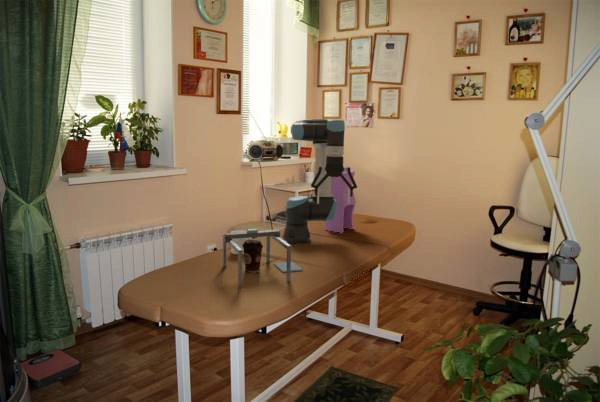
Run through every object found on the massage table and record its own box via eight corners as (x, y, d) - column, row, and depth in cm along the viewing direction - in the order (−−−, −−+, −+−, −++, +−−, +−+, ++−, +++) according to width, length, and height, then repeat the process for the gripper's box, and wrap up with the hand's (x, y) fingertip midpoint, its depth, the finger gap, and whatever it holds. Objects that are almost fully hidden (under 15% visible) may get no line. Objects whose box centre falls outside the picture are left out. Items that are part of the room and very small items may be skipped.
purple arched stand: (334, 226, 295) (336, 169, 288) (354, 229, 287) (356, 170, 280) (322, 230, 283) (323, 170, 277) (342, 233, 276) (344, 172, 269)
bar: (223, 241, 202) (223, 230, 202) (278, 237, 211) (278, 226, 210) (225, 243, 200) (225, 232, 199) (280, 238, 208) (280, 228, 208)
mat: (273, 264, 217) (273, 263, 216) (292, 262, 220) (292, 261, 220) (282, 272, 206) (282, 271, 205) (302, 270, 209) (302, 269, 209)
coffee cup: (246, 274, 202) (246, 244, 200) (239, 269, 209) (239, 240, 207) (265, 272, 206) (265, 242, 204) (257, 266, 213) (258, 238, 211)
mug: (257, 252, 235) (258, 232, 233) (248, 257, 227) (248, 235, 225) (237, 249, 240) (237, 229, 238) (227, 253, 233) (227, 232, 231)
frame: (222, 266, 213) (222, 233, 210) (269, 261, 220) (269, 229, 218) (238, 287, 187) (238, 250, 184) (290, 281, 195) (291, 245, 192)
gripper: (306, 155, 206) (305, 204, 210) (364, 157, 206) (362, 205, 210) (306, 154, 214) (305, 201, 218) (362, 155, 214) (360, 202, 218)
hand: (333, 203), depth 214 cm, fingers open, 13 cm apart
